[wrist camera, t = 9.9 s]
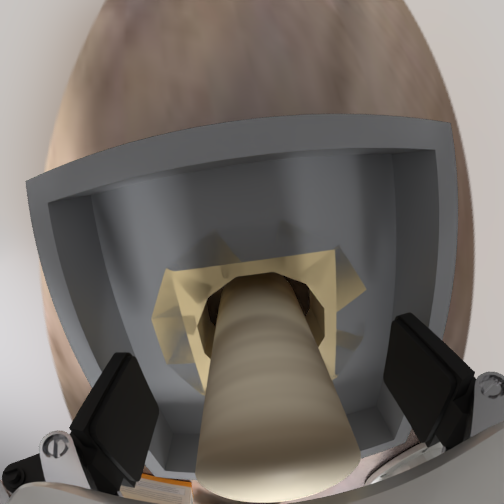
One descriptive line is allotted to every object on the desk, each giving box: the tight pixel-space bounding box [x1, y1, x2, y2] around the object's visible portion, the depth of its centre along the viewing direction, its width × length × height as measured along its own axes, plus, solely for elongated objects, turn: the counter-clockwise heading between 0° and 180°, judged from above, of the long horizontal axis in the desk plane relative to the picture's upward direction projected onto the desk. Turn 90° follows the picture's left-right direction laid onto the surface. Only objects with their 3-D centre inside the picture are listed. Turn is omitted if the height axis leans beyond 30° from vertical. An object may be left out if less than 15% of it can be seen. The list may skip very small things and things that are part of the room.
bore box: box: [26, 114, 458, 480], centre depth 11 cm, size 16×14×6 cm
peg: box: [195, 272, 361, 503], centre depth 10 cm, size 4×4×10 cm
